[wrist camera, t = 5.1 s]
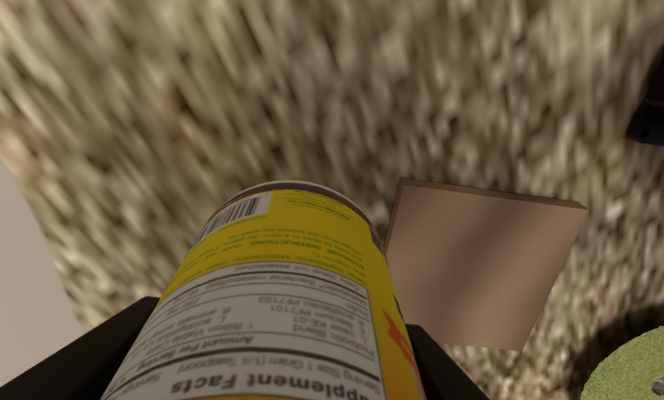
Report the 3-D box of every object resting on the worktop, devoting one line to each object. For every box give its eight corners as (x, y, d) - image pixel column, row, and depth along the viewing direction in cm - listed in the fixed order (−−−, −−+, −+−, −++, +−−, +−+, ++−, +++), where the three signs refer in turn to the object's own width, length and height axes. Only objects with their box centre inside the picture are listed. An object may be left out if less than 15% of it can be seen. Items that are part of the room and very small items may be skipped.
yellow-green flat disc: (668, 428, 29) (690, 454, 27) (535, 406, 28) (550, 432, 26) (772, 316, 25) (807, 339, 23) (620, 283, 23) (645, 305, 21)
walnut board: (577, 202, 21) (589, 210, 20) (514, 339, 25) (521, 351, 24) (400, 177, 20) (403, 184, 19) (364, 323, 24) (366, 335, 23)
